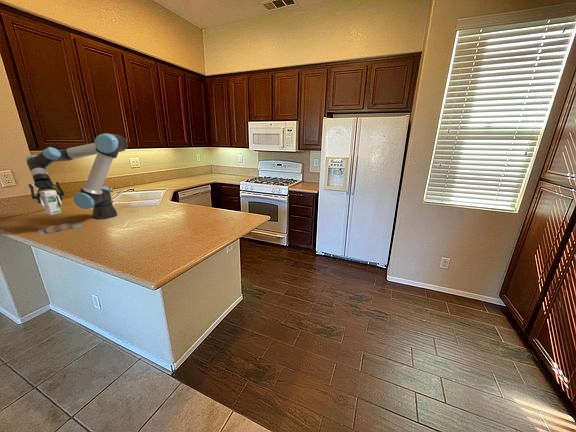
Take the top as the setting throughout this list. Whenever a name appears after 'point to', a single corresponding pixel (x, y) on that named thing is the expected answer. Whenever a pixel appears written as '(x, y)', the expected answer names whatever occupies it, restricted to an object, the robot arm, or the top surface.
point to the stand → (58, 228)
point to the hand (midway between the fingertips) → (52, 205)
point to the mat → (74, 225)
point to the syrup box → (50, 202)
